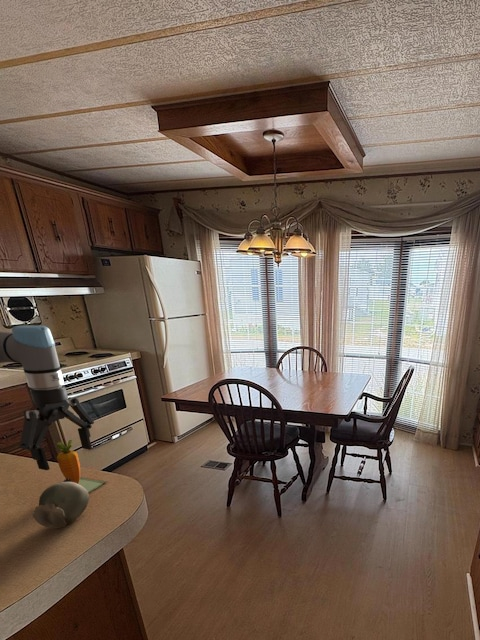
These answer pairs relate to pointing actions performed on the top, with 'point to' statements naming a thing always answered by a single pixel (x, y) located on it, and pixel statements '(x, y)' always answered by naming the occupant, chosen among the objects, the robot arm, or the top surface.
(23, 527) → the top surface
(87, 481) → the tray
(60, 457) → the carrot
